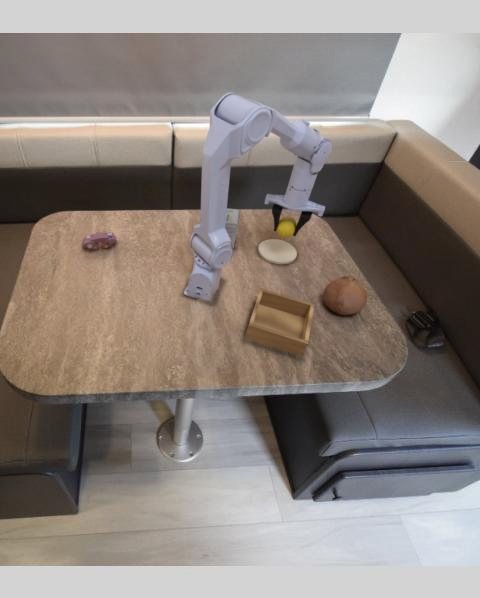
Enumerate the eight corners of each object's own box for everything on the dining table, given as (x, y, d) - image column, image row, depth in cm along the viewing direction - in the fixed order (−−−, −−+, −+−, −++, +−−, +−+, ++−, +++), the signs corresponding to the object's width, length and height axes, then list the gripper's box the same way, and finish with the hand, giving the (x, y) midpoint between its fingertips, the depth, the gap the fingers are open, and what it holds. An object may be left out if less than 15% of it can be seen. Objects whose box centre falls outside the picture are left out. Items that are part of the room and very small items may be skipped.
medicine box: (233, 249, 103) (238, 224, 97) (218, 247, 103) (222, 222, 97) (234, 234, 108) (240, 209, 102) (220, 232, 109) (224, 207, 103)
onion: (327, 305, 92) (337, 268, 89) (366, 317, 86) (378, 278, 83) (312, 312, 86) (323, 273, 82) (353, 326, 80) (366, 284, 76)
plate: (293, 268, 98) (294, 266, 97) (254, 258, 101) (254, 256, 100) (298, 246, 105) (299, 244, 104) (262, 237, 108) (262, 235, 107)
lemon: (290, 243, 93) (295, 228, 90) (273, 239, 94) (277, 224, 91) (294, 229, 98) (299, 215, 94) (277, 225, 99) (282, 211, 96)
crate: (300, 358, 77) (308, 343, 73) (243, 339, 80) (248, 324, 76) (307, 318, 85) (314, 303, 81) (255, 303, 88) (260, 288, 84)
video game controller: (84, 255, 102) (82, 244, 95) (81, 241, 103) (79, 230, 97) (117, 250, 104) (118, 239, 97) (114, 237, 105) (115, 225, 99)
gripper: (332, 184, 86) (314, 230, 96) (273, 172, 90) (261, 218, 100) (330, 197, 82) (311, 244, 92) (268, 184, 86) (256, 231, 95)
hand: (285, 231), depth 95 cm, fingers closed on lemon, 4 cm apart
